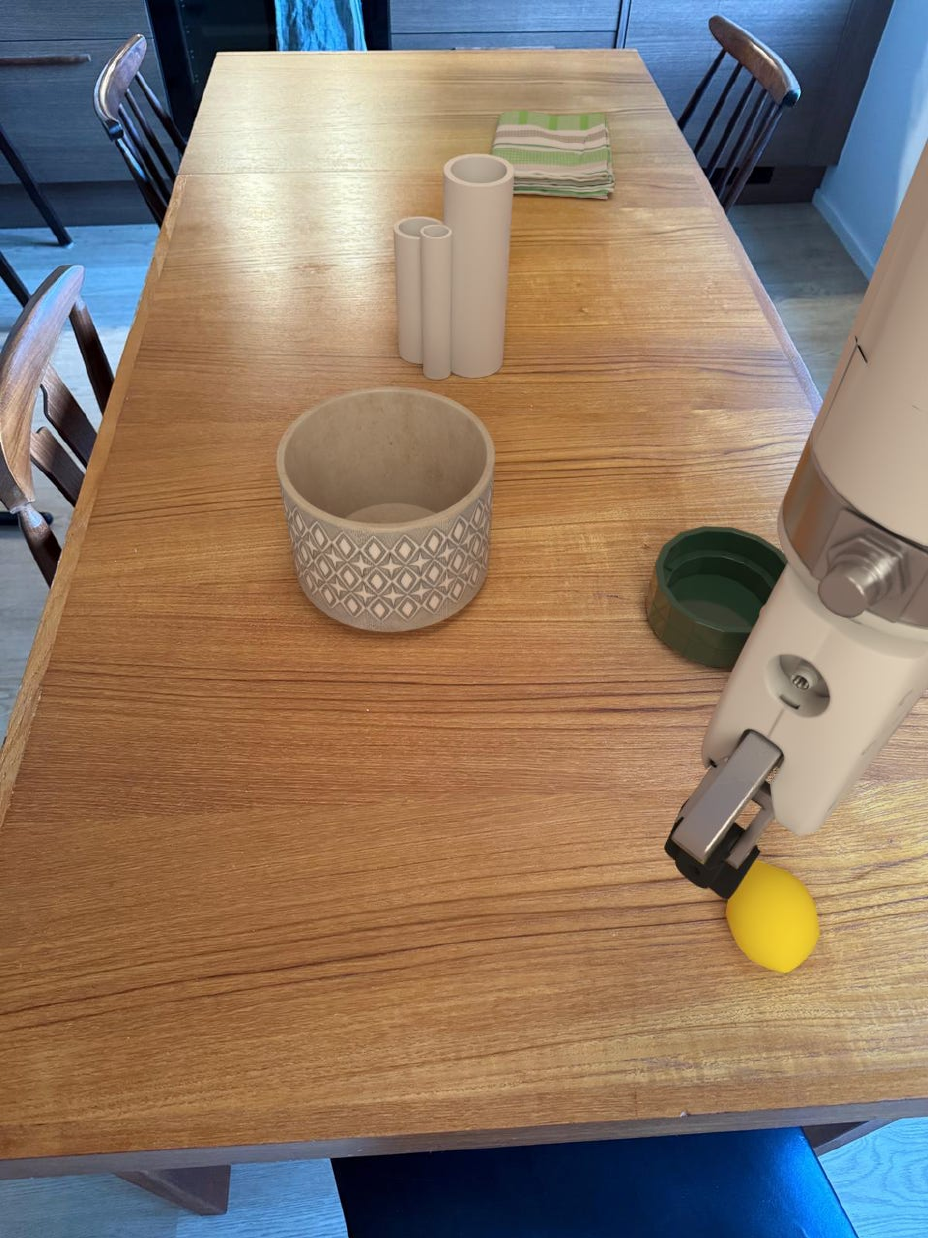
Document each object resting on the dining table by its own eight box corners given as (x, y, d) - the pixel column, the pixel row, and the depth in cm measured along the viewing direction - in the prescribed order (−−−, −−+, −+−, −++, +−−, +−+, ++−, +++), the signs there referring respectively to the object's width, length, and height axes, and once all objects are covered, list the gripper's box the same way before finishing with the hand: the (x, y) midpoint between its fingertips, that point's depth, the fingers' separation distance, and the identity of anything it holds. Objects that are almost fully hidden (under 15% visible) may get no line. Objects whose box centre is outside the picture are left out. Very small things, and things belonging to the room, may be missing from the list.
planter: (519, 537, 79) (530, 422, 70) (433, 671, 70) (432, 559, 60) (359, 479, 84) (348, 364, 74) (258, 598, 74) (230, 483, 65)
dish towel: (485, 195, 120) (486, 168, 117) (494, 123, 135) (496, 98, 132) (613, 202, 119) (617, 175, 117) (609, 129, 134) (612, 104, 131)
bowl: (809, 620, 74) (829, 580, 70) (727, 696, 69) (744, 657, 65) (700, 548, 79) (713, 506, 75) (617, 613, 74) (627, 572, 70)
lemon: (816, 986, 55) (846, 956, 51) (729, 988, 55) (753, 958, 51) (786, 877, 60) (812, 842, 56) (706, 879, 60) (726, 844, 55)
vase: (502, 342, 99) (513, 153, 83) (503, 381, 94) (515, 190, 78) (400, 339, 98) (392, 150, 83) (395, 378, 94) (386, 186, 78)
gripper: (907, 781, 20) (724, 1006, 34) (1155, 434, 28) (929, 726, 42) (640, 605, 24) (569, 874, 37) (931, 338, 32) (787, 637, 45)
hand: (760, 795), depth 39 cm, fingers open, 9 cm apart
